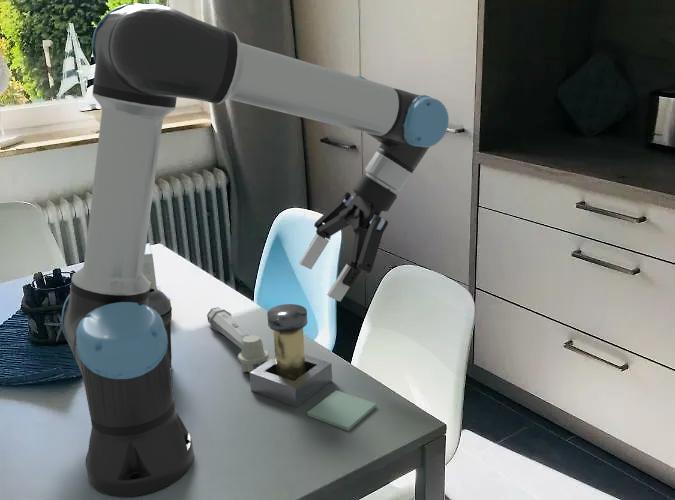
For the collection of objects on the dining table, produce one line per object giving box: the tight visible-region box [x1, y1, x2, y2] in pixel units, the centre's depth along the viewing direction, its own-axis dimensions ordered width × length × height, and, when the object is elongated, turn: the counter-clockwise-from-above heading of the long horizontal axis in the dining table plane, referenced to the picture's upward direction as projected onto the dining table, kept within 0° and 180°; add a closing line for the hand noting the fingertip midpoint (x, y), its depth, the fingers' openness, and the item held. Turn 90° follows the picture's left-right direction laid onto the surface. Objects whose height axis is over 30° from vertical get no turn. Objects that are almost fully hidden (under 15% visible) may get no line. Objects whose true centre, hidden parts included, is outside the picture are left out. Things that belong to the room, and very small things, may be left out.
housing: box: [249, 354, 333, 408], centre depth 124 cm, size 10×10×4 cm
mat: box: [306, 389, 377, 431], centre depth 117 cm, size 8×8×1 cm
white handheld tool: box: [206, 306, 270, 373], centre depth 139 cm, size 5×7×25 cm
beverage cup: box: [148, 288, 173, 370], centre depth 129 cm, size 7×7×20 cm
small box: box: [142, 242, 158, 290], centre depth 166 cm, size 8×6×10 cm
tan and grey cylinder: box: [266, 303, 308, 381], centre depth 122 cm, size 7×7×14 cm
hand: (318, 281), depth 132 cm, fingers open, 13 cm apart
